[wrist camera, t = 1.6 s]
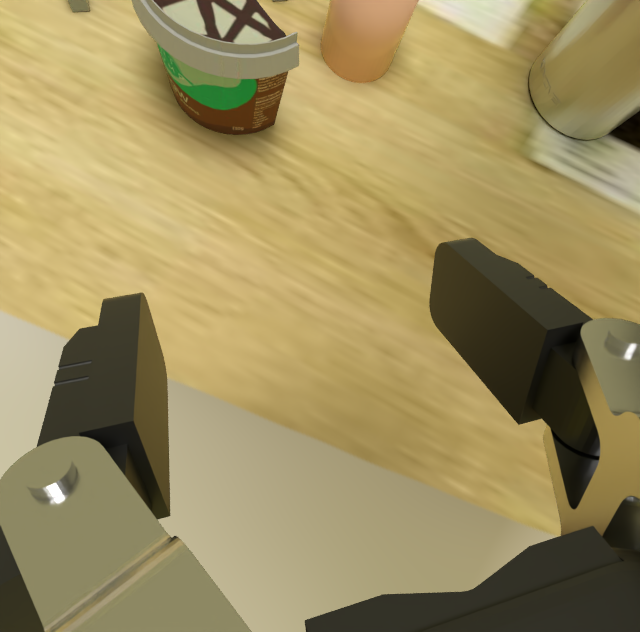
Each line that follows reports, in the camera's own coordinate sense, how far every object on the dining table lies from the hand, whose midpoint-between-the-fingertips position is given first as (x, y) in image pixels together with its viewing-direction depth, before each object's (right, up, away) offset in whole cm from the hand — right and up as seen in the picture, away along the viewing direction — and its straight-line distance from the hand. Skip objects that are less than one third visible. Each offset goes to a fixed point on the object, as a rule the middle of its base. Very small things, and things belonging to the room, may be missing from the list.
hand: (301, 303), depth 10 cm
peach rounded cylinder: (+3, +22, +28) cm, 36 cm away
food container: (-8, +16, +25) cm, 31 cm away
